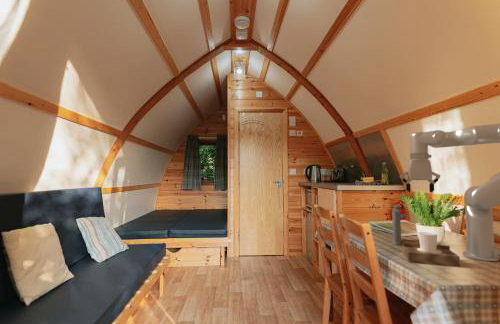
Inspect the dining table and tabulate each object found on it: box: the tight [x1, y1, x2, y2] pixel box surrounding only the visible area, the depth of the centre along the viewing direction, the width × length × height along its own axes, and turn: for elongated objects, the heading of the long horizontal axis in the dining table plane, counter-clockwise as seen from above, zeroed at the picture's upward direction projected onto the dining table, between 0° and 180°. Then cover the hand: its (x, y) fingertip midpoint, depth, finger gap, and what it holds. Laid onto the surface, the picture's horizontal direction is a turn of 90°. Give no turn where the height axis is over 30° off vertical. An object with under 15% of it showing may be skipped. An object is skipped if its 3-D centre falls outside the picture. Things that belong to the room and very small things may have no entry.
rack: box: [402, 241, 461, 268], centre depth 118 cm, size 18×12×6 cm, turn 71°
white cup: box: [418, 232, 438, 252], centre depth 119 cm, size 7×7×7 cm
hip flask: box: [391, 205, 402, 246], centre depth 152 cm, size 16×4×20 cm, turn 152°
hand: (419, 192), depth 136 cm, fingers open, 9 cm apart
